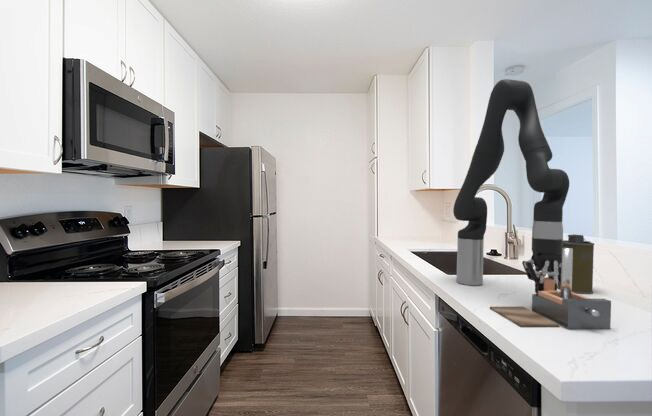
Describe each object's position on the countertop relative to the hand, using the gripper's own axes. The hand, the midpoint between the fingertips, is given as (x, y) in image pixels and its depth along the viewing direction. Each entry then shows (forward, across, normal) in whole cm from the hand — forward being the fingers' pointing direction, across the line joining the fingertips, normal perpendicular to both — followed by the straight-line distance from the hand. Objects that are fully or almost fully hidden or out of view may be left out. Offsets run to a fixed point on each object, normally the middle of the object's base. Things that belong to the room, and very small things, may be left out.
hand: (545, 295), depth 95 cm
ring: (-1, 0, +5) cm, 5 cm away
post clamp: (+4, 0, +9) cm, 10 cm away
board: (+4, +12, +6) cm, 14 cm away
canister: (+4, -26, -20) cm, 34 cm away
